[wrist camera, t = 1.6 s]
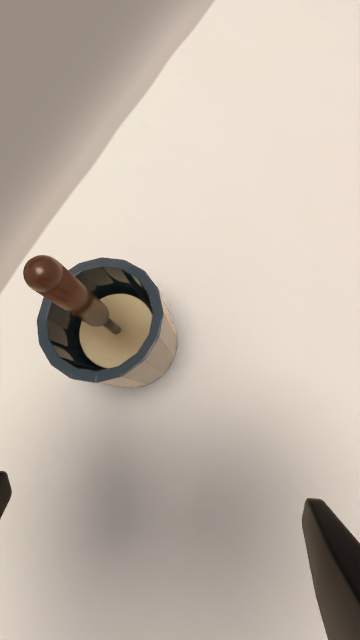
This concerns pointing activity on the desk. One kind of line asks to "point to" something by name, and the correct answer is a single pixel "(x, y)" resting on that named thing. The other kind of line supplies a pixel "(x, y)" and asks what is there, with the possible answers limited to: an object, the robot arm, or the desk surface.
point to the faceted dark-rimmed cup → (63, 327)
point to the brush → (93, 312)
